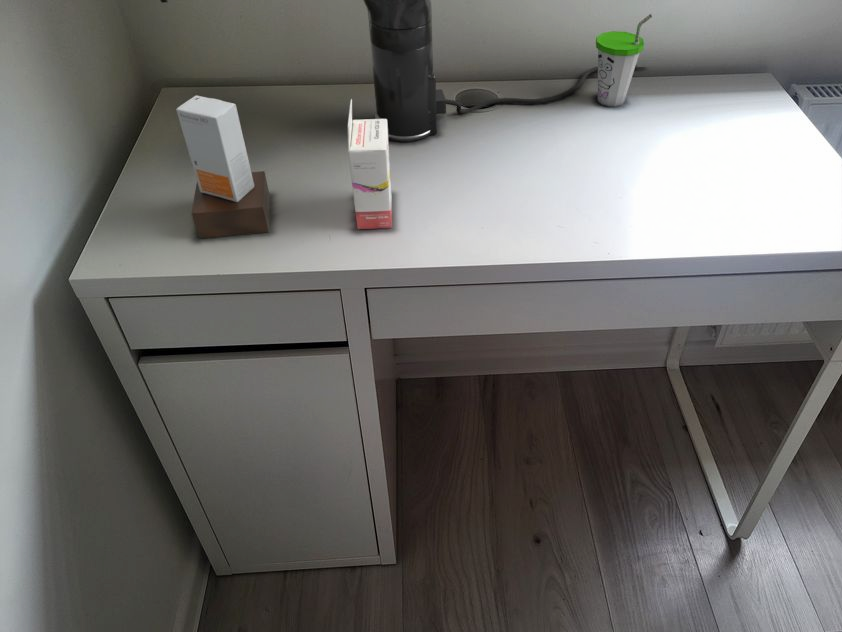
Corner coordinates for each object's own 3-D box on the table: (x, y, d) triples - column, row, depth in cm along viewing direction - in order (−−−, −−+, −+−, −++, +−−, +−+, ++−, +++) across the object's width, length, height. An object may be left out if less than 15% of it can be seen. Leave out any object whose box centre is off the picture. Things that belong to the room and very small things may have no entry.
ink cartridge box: (393, 229, 96) (386, 127, 85) (356, 230, 95) (344, 129, 85) (393, 194, 102) (385, 95, 91) (358, 195, 101) (347, 96, 91)
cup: (578, 98, 123) (589, 8, 113) (610, 86, 127) (624, -3, 116) (610, 115, 119) (625, 23, 108) (643, 103, 122) (660, 12, 112)
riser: (269, 195, 101) (264, 170, 98) (268, 232, 95) (262, 207, 92) (204, 201, 100) (197, 176, 97) (199, 238, 94) (191, 213, 91)
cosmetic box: (199, 193, 94) (173, 108, 86) (218, 178, 97) (195, 93, 88) (238, 203, 92) (215, 117, 84) (256, 187, 95) (236, 102, 87)
